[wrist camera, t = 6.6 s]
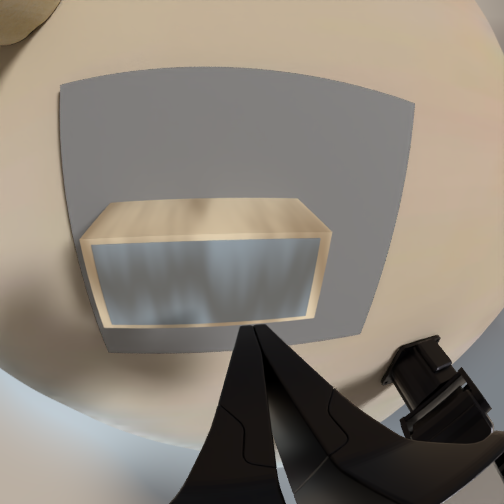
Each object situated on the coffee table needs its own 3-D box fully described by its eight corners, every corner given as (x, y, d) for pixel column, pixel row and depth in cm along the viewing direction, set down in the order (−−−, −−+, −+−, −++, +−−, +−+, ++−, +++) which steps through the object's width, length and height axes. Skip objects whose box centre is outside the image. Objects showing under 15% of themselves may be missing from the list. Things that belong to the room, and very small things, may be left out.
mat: (357, 329, 22) (360, 334, 21) (110, 346, 18) (108, 352, 18) (408, 103, 14) (414, 103, 13) (65, 85, 10) (60, 85, 10)
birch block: (314, 318, 13) (103, 328, 11) (288, 269, 17) (122, 275, 15) (332, 232, 11) (78, 239, 9) (297, 198, 15) (110, 202, 13)
